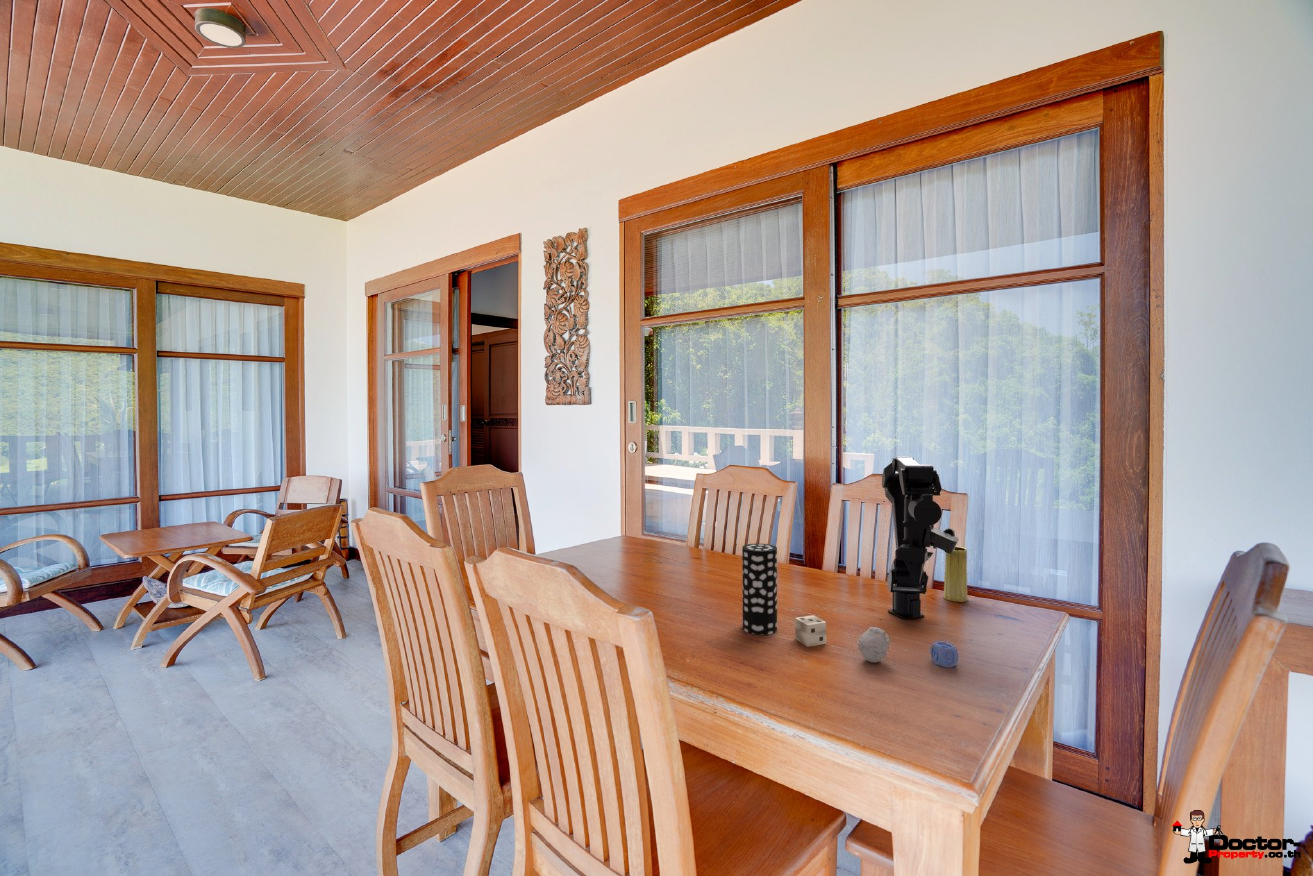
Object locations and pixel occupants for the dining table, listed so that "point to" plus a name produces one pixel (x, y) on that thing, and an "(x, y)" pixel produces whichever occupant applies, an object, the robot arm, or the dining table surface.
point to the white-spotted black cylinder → (759, 588)
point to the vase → (956, 575)
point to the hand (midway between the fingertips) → (917, 583)
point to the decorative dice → (944, 654)
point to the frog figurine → (874, 644)
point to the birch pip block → (810, 630)
